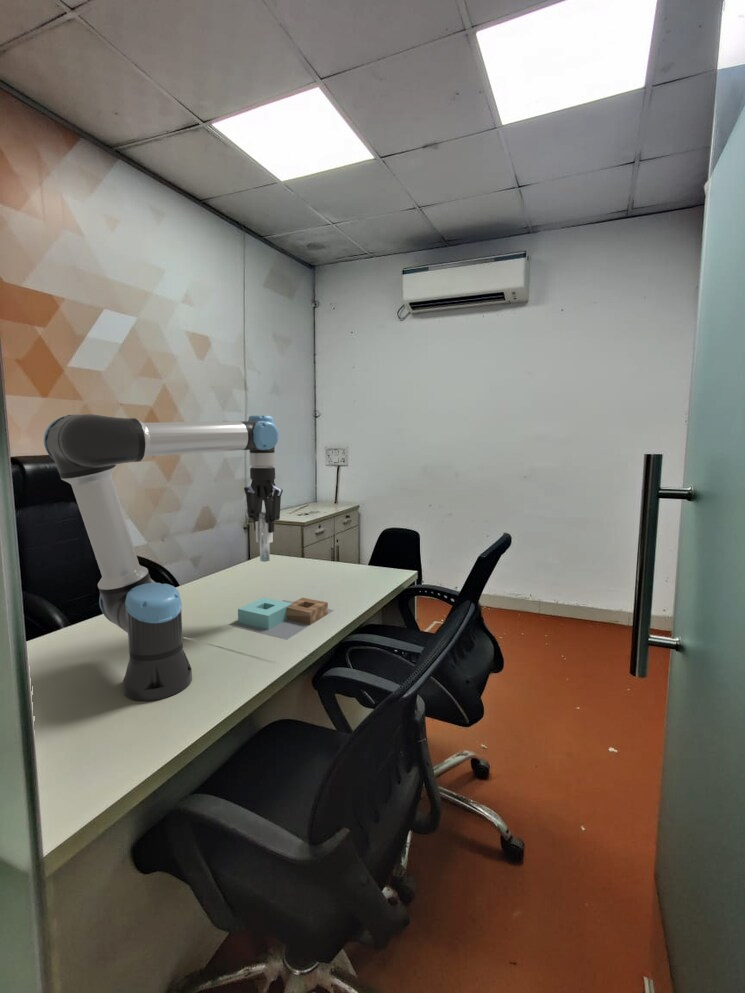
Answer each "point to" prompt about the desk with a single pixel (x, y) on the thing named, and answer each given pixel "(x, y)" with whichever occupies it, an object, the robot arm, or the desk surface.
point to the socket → (263, 613)
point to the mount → (307, 611)
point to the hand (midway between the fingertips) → (264, 541)
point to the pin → (263, 539)
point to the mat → (278, 628)
